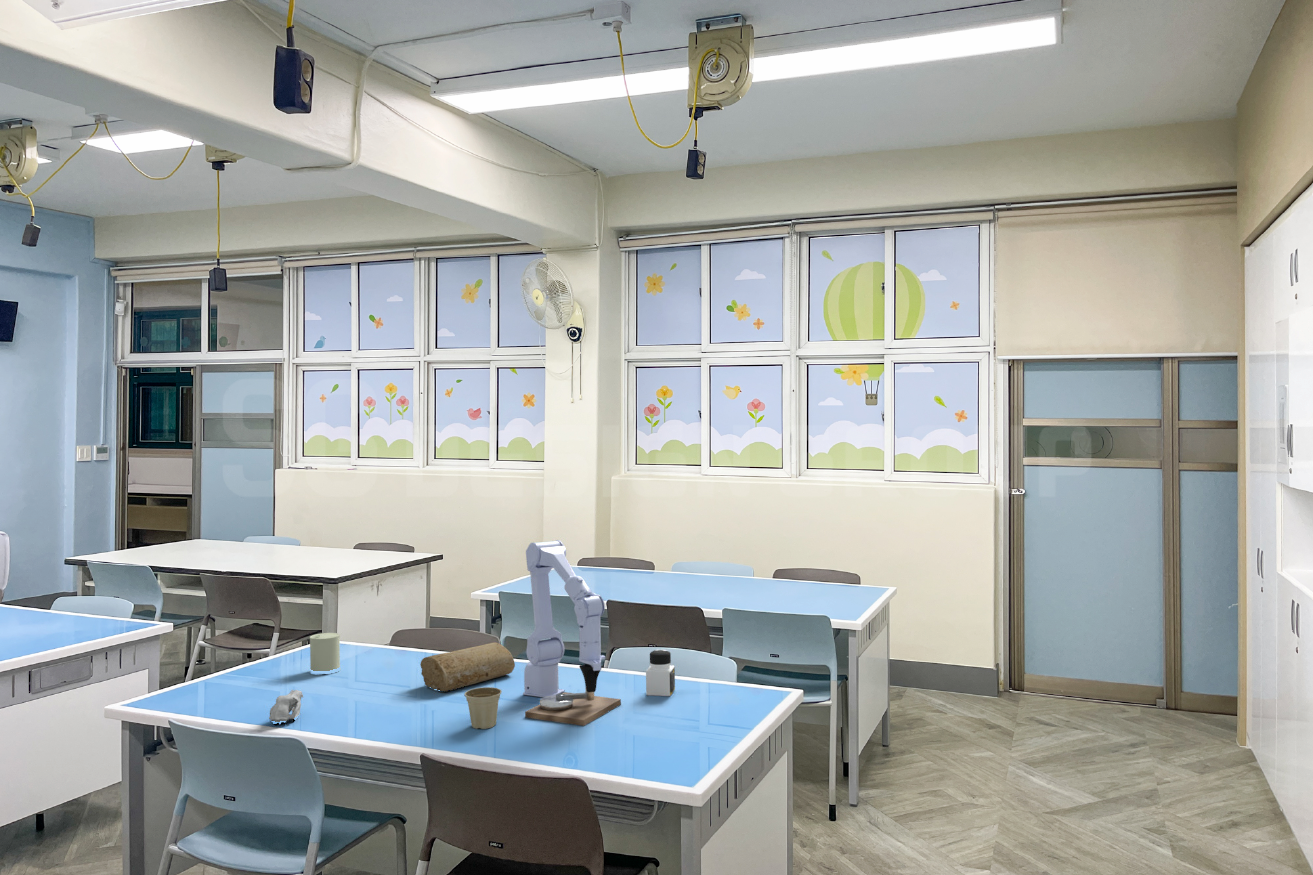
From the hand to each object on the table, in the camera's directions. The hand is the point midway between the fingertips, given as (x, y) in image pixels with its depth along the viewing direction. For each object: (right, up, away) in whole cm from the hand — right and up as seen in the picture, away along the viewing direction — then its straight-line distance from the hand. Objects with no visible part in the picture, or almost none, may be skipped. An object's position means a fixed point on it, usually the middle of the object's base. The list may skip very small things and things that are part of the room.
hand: (590, 691), depth 245 cm
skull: (-80, -7, -3) cm, 81 cm away
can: (-89, -7, +48) cm, 101 cm away
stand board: (-5, -6, +1) cm, 7 cm away
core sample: (-40, -7, +33) cm, 52 cm away
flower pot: (-27, -6, -10) cm, 29 cm away
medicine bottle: (+19, -5, +17) cm, 26 cm away
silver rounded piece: (-6, -4, +1) cm, 8 cm away
